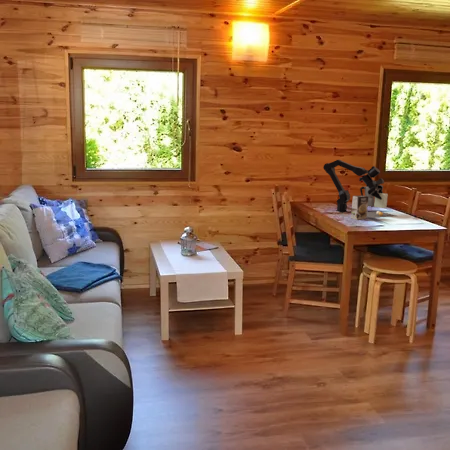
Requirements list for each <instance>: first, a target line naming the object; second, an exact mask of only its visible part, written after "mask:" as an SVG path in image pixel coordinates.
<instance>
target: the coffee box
mask: <svg viewBox="0 0 450 450" xmlns="http://www.w3.org/2000/svg"><path fill="white" fill-rule="evenodd" d="M351 202H352V203H351V215H350V219H352V220H355V221H358V220H360V221H361V220H366V219H367V218H368V217H367V212H368V196H365V195H364V194H363V195H362V196H361V195H352V201H351Z"/></svg>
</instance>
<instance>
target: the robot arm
mask: <svg viewBox="0 0 450 450" xmlns="http://www.w3.org/2000/svg"><path fill="white" fill-rule="evenodd" d="M336 167H341V168H344V169H346V170H348V171H351V172H352V173H353V174H354V175H356V176H358V177H359V180H358V181H359V182H361V181H362V182H364V184H365V185H366V186H365V187H368V188H369V190H368V194H369V195H370V194H371V193H372V194H371V195H372V196H374V198H375V197H376V198H378V199H380V200H381V199H382V198H381V196H380V195H379V193H384V192H383V189H384V185H383V184H385V180H384V179H383V178H382V177H380V178H378V180H375V178H376V177H377V176H379V175H380V173H381V171H380V169H379V168H377V167H376V166H375V165H373V166H371V168H369V169H366V168H364V167H362V166H356V165H353V164H351V163H348V162H346V161H343V160H341V159H336V160H334V161H331V162H327V163H324V165H323V170H324V171H325V172H326V173H327V175H328V176H330V178H331V180H332V182H333V184H334V186H335V188H336V190H337V192H338V197H339V198H338V199H336V203H337V206H336V209H335V211H336V212H339V213H345V212H346V213H347V212H348V210H347V208H348V202H349V201H350V200H351V194H350V193H349V190H348V189H347V190H345V188H344V186H343V185H342V183H341V181H340V178H339V177H338V176H337V173H336Z"/></svg>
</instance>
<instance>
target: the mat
mask: <svg viewBox="0 0 450 450" xmlns="http://www.w3.org/2000/svg"><path fill="white" fill-rule="evenodd" d="M377 211H378V210H377ZM377 211H367V218H372V219H377V218H390V217H397V215H395V214H391V213H388V212H385V211H381V212H382V213H383V215H382V216H379V215H377V214H376V212H377Z"/></svg>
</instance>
